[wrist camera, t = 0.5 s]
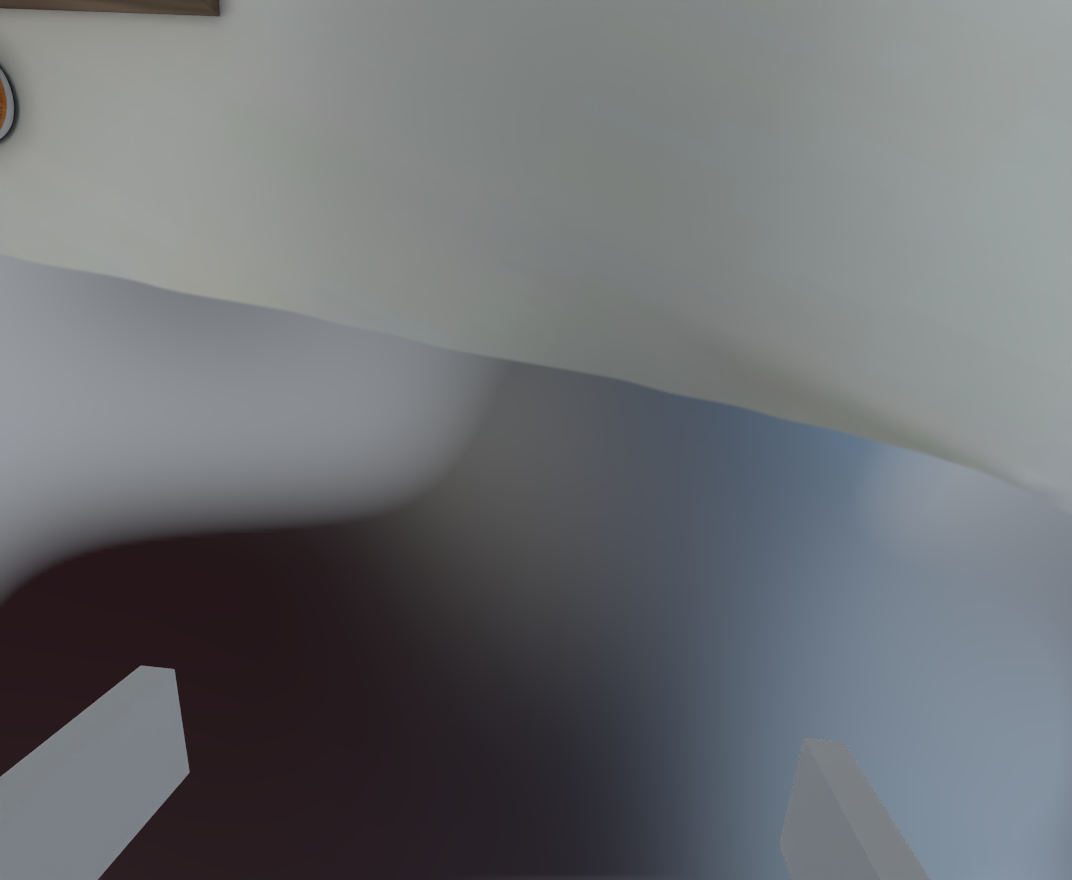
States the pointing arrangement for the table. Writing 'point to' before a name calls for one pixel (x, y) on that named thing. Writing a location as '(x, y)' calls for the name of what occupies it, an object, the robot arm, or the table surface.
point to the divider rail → (121, 6)
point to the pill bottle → (5, 105)
